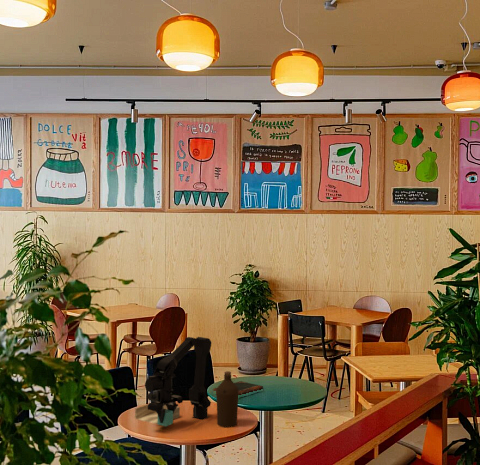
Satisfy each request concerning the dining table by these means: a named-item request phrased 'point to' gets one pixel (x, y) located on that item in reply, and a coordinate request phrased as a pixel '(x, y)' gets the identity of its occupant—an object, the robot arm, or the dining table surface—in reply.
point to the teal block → (167, 418)
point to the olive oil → (227, 402)
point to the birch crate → (152, 414)
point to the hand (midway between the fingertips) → (165, 421)
